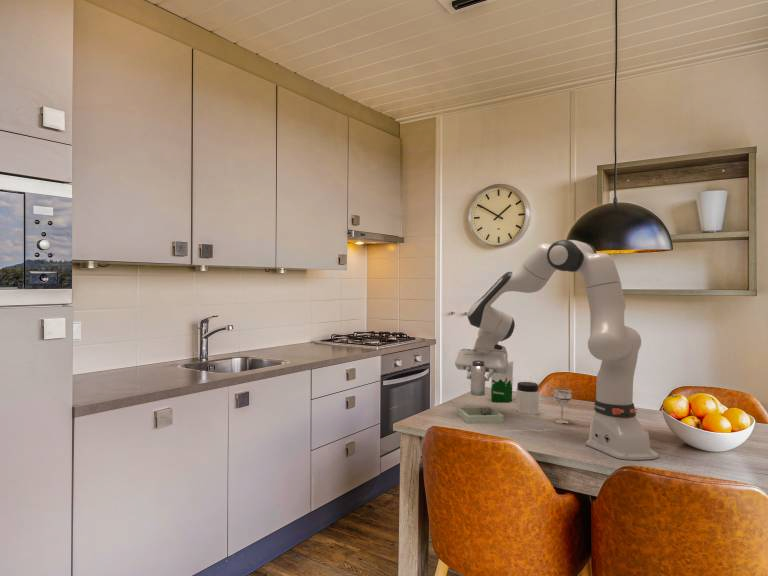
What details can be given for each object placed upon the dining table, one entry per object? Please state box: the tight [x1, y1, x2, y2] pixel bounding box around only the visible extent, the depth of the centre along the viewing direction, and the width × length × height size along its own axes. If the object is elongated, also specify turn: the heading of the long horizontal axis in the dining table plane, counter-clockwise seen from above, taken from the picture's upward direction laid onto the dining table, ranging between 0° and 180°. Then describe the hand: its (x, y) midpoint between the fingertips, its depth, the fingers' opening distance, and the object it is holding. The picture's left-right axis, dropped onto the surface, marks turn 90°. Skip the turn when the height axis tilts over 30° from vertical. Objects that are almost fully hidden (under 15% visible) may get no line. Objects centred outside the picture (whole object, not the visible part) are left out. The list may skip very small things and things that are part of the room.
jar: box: [515, 381, 540, 416], centre depth 212 cm, size 9×8×12 cm
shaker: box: [470, 361, 486, 397], centre depth 198 cm, size 5×5×12 cm
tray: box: [456, 406, 505, 424], centre depth 200 cm, size 14×14×3 cm
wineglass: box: [552, 388, 573, 424], centre depth 199 cm, size 7×7×12 cm
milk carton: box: [490, 360, 514, 404], centre depth 232 cm, size 9×9×20 cm
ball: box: [481, 406, 489, 415], centre depth 204 cm, size 3×3×3 cm
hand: (477, 379), depth 197 cm, fingers closed on shaker, 5 cm apart
